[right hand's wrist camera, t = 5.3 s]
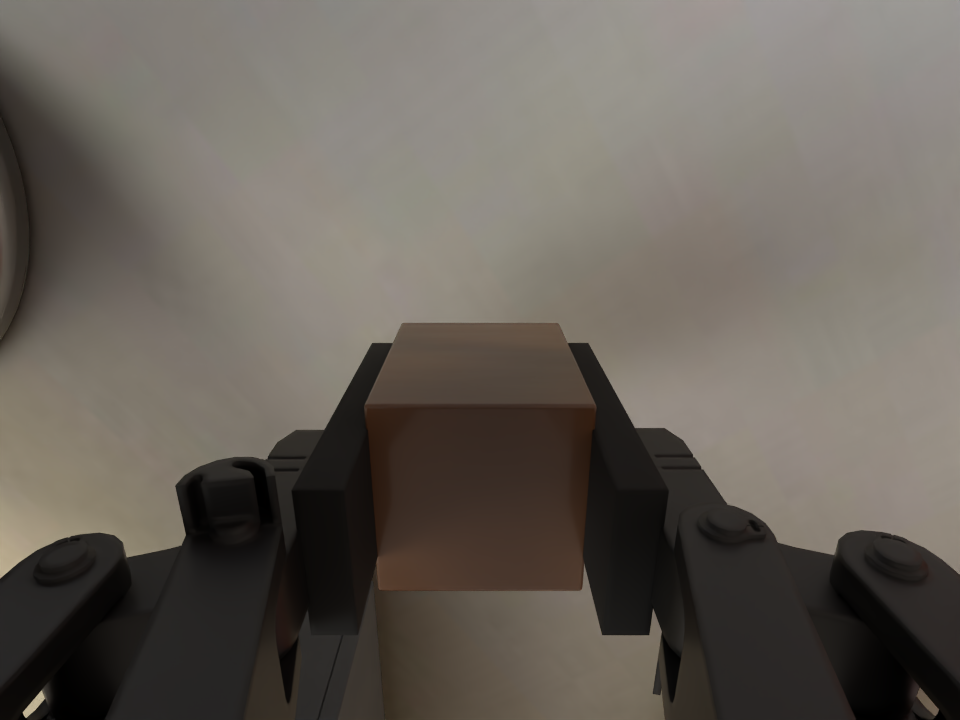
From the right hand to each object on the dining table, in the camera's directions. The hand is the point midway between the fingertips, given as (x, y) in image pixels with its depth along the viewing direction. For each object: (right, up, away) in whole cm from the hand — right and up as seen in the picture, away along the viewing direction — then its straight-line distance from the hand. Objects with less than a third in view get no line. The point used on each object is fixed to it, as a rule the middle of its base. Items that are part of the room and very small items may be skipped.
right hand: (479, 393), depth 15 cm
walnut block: (0, 0, 0) cm, 0 cm away
